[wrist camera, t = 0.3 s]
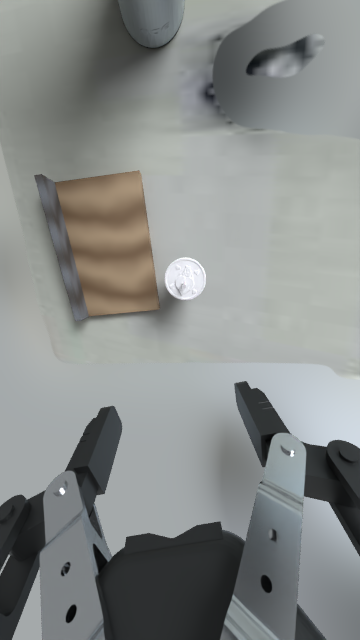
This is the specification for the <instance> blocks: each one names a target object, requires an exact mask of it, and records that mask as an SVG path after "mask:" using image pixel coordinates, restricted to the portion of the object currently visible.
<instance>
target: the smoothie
mask: <svg viewBox="0 0 360 640" xmlns="http://www.w3.org/2000/svg"><path fill="white" fill-rule="evenodd" d="M205 283H206V275H205V271H204V269H203V267H202V266H201V265H200V263H198V262H197V261H196V260H194V259H191V258H179V259H177V260H175V261H173V262H172V263H171V264H170V265H169V267H168V268H167V270H166V273H165V286H166V288H167V290H168V292H169V293H170V294H171V295H172V296H173V297H175V298H177V299H180V300H190V299H193V298H195V297H197V296H198V295H199V294H200V293H201V292H202V291H203V289H204V287H205Z"/></svg>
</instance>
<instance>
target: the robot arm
mask: <svg viewBox="0 0 360 640" xmlns="http://www.w3.org/2000/svg"><path fill="white" fill-rule="evenodd" d="M184 2H185V0H118V3H119V7H120V11H121V14H122V18H123V22H124V24H125V26H126V28H127V30H128V32H129V33H130V35H131V36H132V37H133V38H134V39H135V40H136V41H137V42H138V43H140V44H141V45H143V46H146V47H150V48H154V47H159V46H162V45H164V44H166V43H167V42H169V41H170V40H171V39H172V38H173V36H174V35H175V34H176V32H177V30H178V29H179V26H180V24H181V21H182V17H183V13H184ZM234 385H235V393H236V402H237V406H238V410H239V412H240V415H241V417H242V419H243V422H244V424H245V427H246V429H247V431H248V434H249V436H250V439H251V441H252V443H253V445H254V448H255V451H256V453H257V455H258V458H259V460H260V462H261V465H262V467H265V471H264V476H263V480H262V482H260V484H259V487H258V490H257V494H256V499H255V503H254V507H253V511H252V516H251V520H250V524H249V529H248V533H247V537H246V541H244V540H243V539H242V538H240V537H239V536H237V535H235V534H234V533H231V532H229V531H225V530H222V527H221V522H214V523H208V524H202V525H197V526H195V527H193V528H191V529H190V530H188V531H186V532H184V533H183V534H181V535H179V536H177V537H175V538H167V537H163V536H159V535H155V534H150V533H147V534H141V535H136V536H129V537H126V543H125V547H124V548H123V549H121V550H120V551H119V552H117V553H116V554H115V555H114V556H113V557H112V555H111V553H110V550H109V548H108V546H107V543H106V541H105V537H104V534H103V530H102V527H101V524H100V520H99V516H98V513H97V510H96V506H95V504H94V502H95V498H96V495H100V494H105V490H106V487H107V483H108V480H109V475H110V472H111V469H112V465H113V462H114V458H115V454H116V451H117V447H118V444H119V440H120V436H121V432H122V423H121V420H120V418H119V416H118V414H117V411H116V409H115V407H114V406H110V407H104V408H101V409H100V411H99V413H98V415H97V417H96V418H93V419H92V421H91V422H90V423H89V424H88V425H87V427H86V429H85V431H84V433H83V436H82V437H81V439H80V442H79V443H78V445H77V448H76V450H75V451H74V454H73V456H72V458H71V460H70V462H69V464H68V466H67V468H66V470H65V472H63V473H61V474H60V475H58V476H57V477H56V478H55V479H54V480H53V481H52V482H51V483H50V485H49V486H48V487H47V489H46V490H45V491H43V492H42V493H40V494H38V495H36V496H34V497H32V498H30V499H28V500H26V498H25V497H24V496H23V495H17V496H14V497H12V498H11V499H9V500H7V501H6V502H5V503H4V504H2V505H1V506H0V570H1V568H2V566H3V564H4V562H5V560H6V558H7V556H8V555H9V554H10V557H9V559H8V561H7V563H6V566H5V567H4V570H3V571H2V573H1V575H0V640H12V637H13V635H14V632H15V629H16V627H17V624H18V622H19V619H20V617H21V614H22V611H23V609H24V606H25V603H26V601H27V598H28V596H29V593H30V591H31V588H32V585H33V583H34V580H35V578H36V575H37V572H38V570H39V567H40V590H41V619H42V640H326V638H325V637H324V636H323V635H322V633H321V632H320V631H319V630H318V629H317V627H316V626H315V625H314V624H313V622H312V621H311V620H310V619H309V617H308V616H307V615H306V614H305V613H304V611H303V610H302V609H301V608H300V606H299V605H298V604H297V597H298V581H299V565H300V548H301V533H302V517H303V499H304V496H305V497H310V498H314V499H318V500H323V501H327V502H329V503H330V505H331V507H332V509H333V511H334V512H335V514H336V516H337V517H338V519H339V521H340V523H341V525H342V526H343V528H344V530H345V531H346V533H347V535H348V537H349V538H350V540H351V542H352V544H353V545H354V547H355V549H356V550H357V552H358V554H359V556H360V449H359V448H358V447H357V446H355V445H353V444H351V443H349V442H346V441H342V440H334V441H331V442H329V444H328V446H327V447H324V446H317V445H310V444H306V443H304V442H301V441H300V440H299V439H298V438H296V437H295V436H293V435H292V434H290V432H289V431H288V429H287V428H286V426H285V425H284V423H283V422H282V420H281V419H280V417H279V416H278V414H277V412H276V411H275V409H274V408H273V406H272V405H271V403H270V402H269V400H268V399H267V397H266V395H265V394H264V393H263V392H262V391H260V390H259V389H258V388H254V389H251V388H250V387H249V385H248V383H247V382H246V381H244V382H239V383H235V384H234Z"/></svg>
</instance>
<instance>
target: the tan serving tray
mask: <svg viewBox="0 0 360 640" xmlns="http://www.w3.org/2000/svg"><path fill="white" fill-rule="evenodd" d="M34 176H35V180H36V183H37V187H38V190H39V194H40V198H41V201H42V205H43V208H44V212H45V215H46V219H47V222H48V226H49V229H50V233H51V236H52V240H53V244H54V247H55V251H56V254H57V258H58V261H59V265H60V268H61V272H62V275H63V279H64V283H65V286H66V290H67V293H68V297H69V300H70V304H71V307H72V311H73V314H74V318H75V321H81V320H83V319H85V318H87V317H89V316H97V315H107V314H117V313H128V312H138V311H148V310H158V309H159V308H160V305H159V298H158V291H157V284H156V277H155V270H154V263H153V256H152V248H151V241H150V234H149V227H148V220H147V213H146V206H145V199H144V192H143V184H142V177H141V173H140V171H132V172H125V173H118V174H111V175H104V176H97V177H90V178H83V179H76V180H69V181H62V182H53V181H51V180H50V179H48V178H47V177H45V176H44V175H42V174H40V175H34Z"/></svg>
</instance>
